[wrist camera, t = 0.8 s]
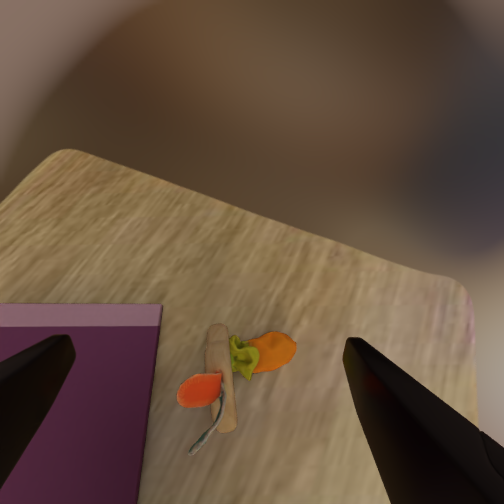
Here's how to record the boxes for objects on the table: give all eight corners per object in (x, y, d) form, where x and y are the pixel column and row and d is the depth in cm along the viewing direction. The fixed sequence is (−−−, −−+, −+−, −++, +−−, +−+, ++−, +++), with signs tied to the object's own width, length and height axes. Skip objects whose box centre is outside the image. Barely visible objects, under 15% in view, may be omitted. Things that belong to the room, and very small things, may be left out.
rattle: (290, 431, 20) (359, 494, 10) (191, 417, 20) (158, 467, 10) (295, 337, 24) (351, 312, 13) (210, 323, 23) (200, 288, 13)
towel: (120, 633, 15) (114, 646, 14) (-147, 667, 14) (-169, 684, 13) (163, 305, 24) (161, 303, 23) (1, 305, 22) (-7, 302, 21)
